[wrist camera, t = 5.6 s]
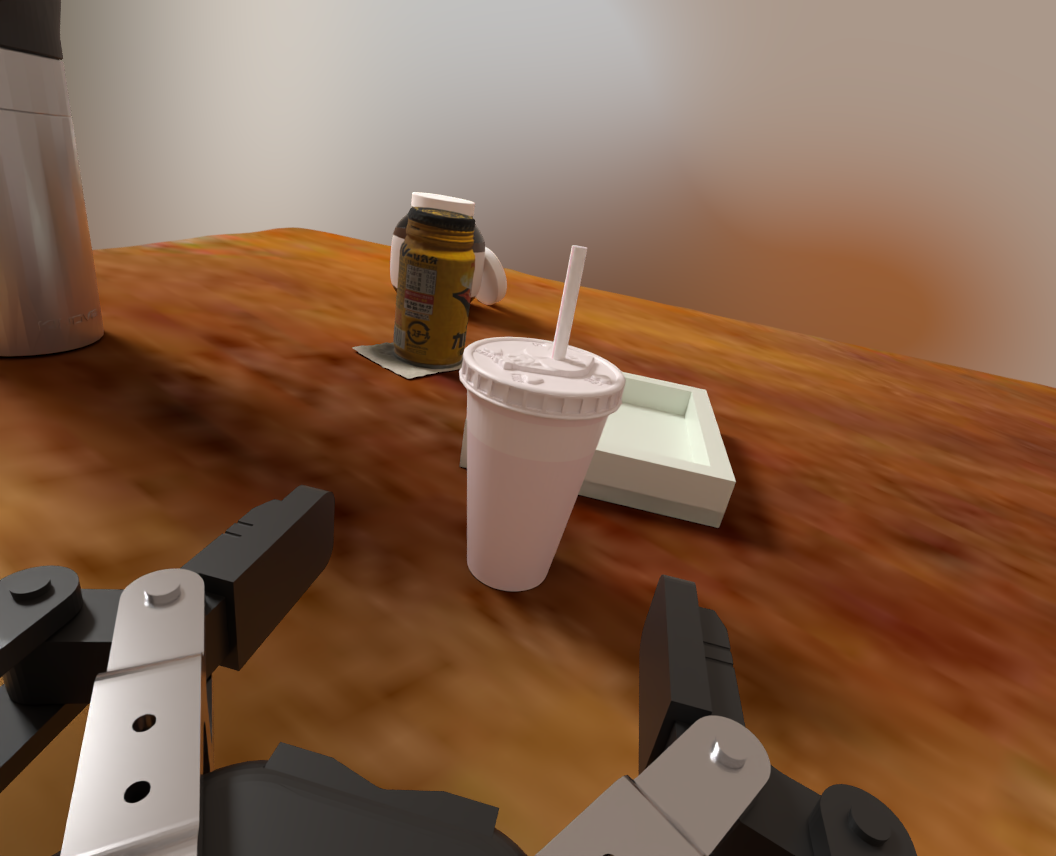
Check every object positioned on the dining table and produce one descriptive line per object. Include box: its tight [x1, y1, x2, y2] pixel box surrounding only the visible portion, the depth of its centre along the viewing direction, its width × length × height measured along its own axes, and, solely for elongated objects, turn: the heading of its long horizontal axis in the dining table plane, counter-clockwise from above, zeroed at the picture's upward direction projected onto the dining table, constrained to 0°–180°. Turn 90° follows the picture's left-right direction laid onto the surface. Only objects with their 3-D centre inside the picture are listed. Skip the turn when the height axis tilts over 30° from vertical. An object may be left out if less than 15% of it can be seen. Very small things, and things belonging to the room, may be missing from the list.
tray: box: [460, 372, 736, 528], centre depth 38 cm, size 15×15×3 cm
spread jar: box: [390, 192, 507, 305], centre depth 66 cm, size 12×11×12 cm
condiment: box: [352, 207, 475, 379], centre depth 46 cm, size 7×8×12 cm
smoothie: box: [459, 245, 626, 591], centre depth 23 cm, size 6×6×14 cm
